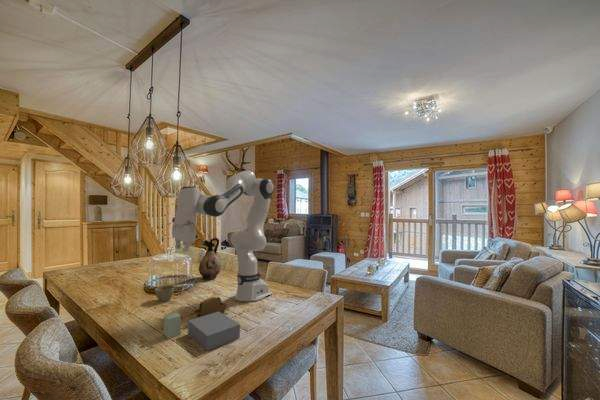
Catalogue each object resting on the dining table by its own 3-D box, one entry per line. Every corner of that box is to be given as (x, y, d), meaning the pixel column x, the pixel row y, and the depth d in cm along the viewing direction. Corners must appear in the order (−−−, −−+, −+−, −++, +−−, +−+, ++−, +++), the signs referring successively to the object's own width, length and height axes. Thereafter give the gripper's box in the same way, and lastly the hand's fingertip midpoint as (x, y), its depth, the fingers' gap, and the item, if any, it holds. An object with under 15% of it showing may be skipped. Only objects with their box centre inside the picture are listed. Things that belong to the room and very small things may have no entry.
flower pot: (167, 296, 157) (168, 284, 157) (178, 299, 152) (178, 287, 152) (151, 301, 149) (151, 288, 149) (161, 305, 143) (161, 291, 144)
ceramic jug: (203, 282, 185) (204, 239, 185) (195, 277, 196) (196, 237, 197) (226, 278, 196) (226, 237, 197) (217, 274, 208) (217, 235, 208)
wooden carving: (222, 311, 135) (222, 292, 135) (227, 314, 132) (228, 294, 133) (191, 322, 123) (192, 301, 123) (197, 325, 120) (197, 303, 120)
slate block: (218, 324, 122) (218, 311, 122) (239, 338, 109) (239, 324, 109) (188, 334, 112) (188, 320, 112) (207, 352, 99) (207, 335, 99)
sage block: (176, 330, 115) (176, 312, 115) (180, 334, 111) (180, 315, 111) (163, 334, 111) (164, 315, 111) (168, 338, 108) (168, 319, 108)
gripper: (201, 222, 117) (197, 253, 116) (184, 219, 132) (180, 246, 131) (186, 221, 113) (183, 254, 112) (171, 218, 128) (167, 247, 127)
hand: (181, 250), depth 122 cm, fingers open, 8 cm apart
